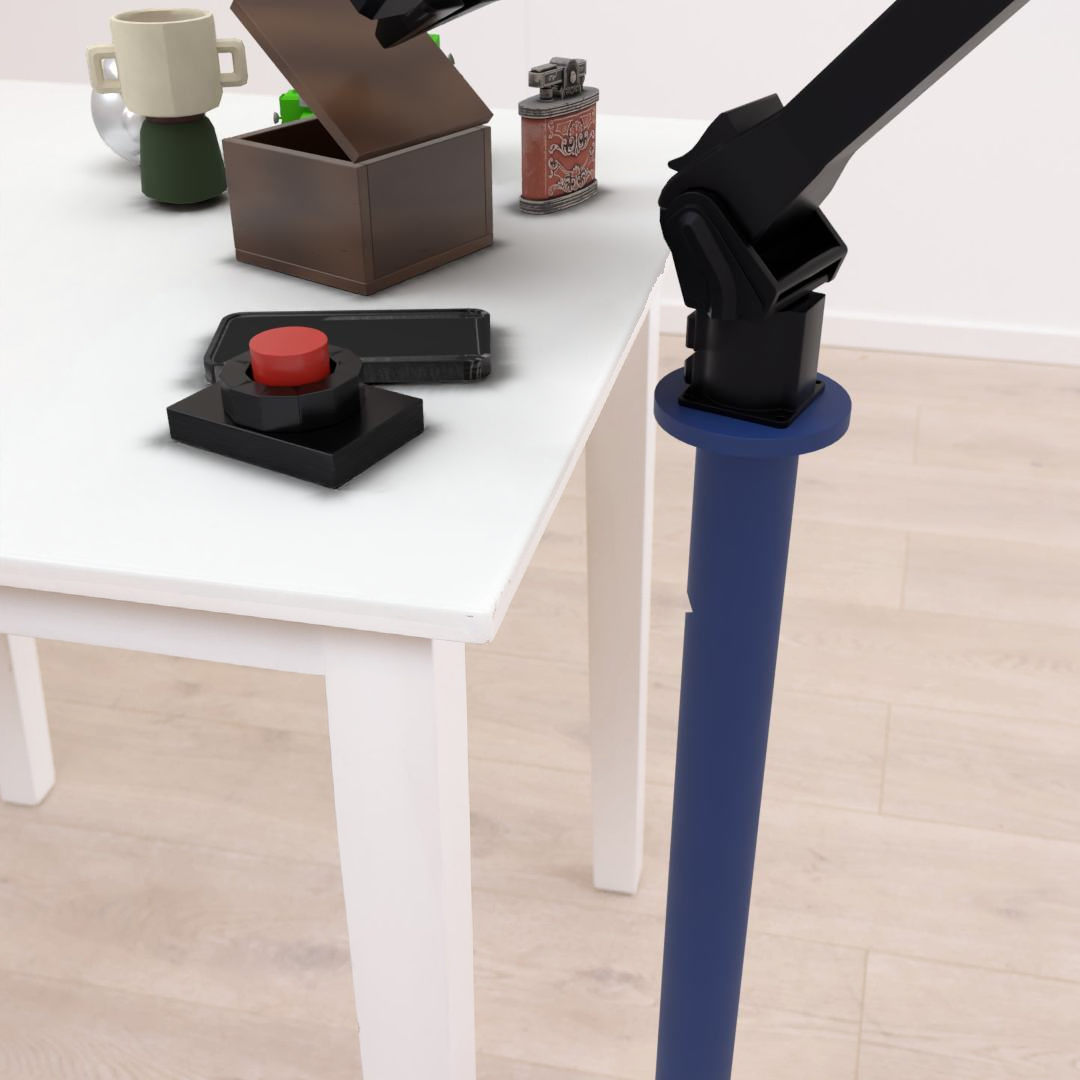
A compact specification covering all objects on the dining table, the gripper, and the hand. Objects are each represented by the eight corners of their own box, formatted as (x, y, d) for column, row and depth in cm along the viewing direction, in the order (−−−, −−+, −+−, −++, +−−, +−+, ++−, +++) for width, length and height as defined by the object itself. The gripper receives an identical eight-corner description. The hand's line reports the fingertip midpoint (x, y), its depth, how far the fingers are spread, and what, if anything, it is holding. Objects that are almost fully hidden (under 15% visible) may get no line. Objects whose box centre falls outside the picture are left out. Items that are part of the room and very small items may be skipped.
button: (346, 369, 62) (343, 335, 61) (297, 396, 59) (293, 361, 59) (287, 354, 64) (283, 321, 63) (237, 380, 61) (232, 345, 60)
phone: (490, 361, 68) (199, 365, 67) (491, 381, 68) (202, 385, 68) (490, 307, 75) (225, 310, 74) (490, 325, 75) (227, 329, 75)
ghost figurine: (78, 179, 103) (53, 45, 98) (129, 149, 111) (109, 24, 106) (187, 184, 101) (168, 48, 96) (231, 153, 109) (215, 27, 104)
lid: (229, 8, 77) (233, -3, 76) (374, -17, 85) (380, -27, 85) (353, 164, 76) (359, 155, 75) (488, 123, 85) (494, 114, 84)
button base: (425, 430, 64) (421, 363, 62) (335, 489, 58) (328, 418, 57) (267, 388, 68) (259, 324, 66) (170, 439, 63) (159, 371, 61)
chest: (236, 260, 86) (221, 139, 82) (367, 214, 94) (359, 103, 90) (366, 296, 80) (357, 167, 76) (493, 244, 89) (491, 126, 85)
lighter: (570, 184, 101) (571, 48, 96) (607, 190, 100) (610, 53, 94) (508, 209, 96) (506, 65, 90) (546, 216, 94) (546, 71, 89)
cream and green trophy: (257, 182, 102) (237, 3, 95) (264, 207, 96) (244, 19, 89) (112, 192, 99) (81, 10, 93) (110, 219, 94) (77, 26, 87)
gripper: (546, -284, 74) (409, -81, 85) (312, -295, 61) (186, -54, 72) (658, -123, 74) (506, 59, 85) (448, -99, 61) (301, 112, 72)
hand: (383, 41), depth 79 cm, fingers closed
